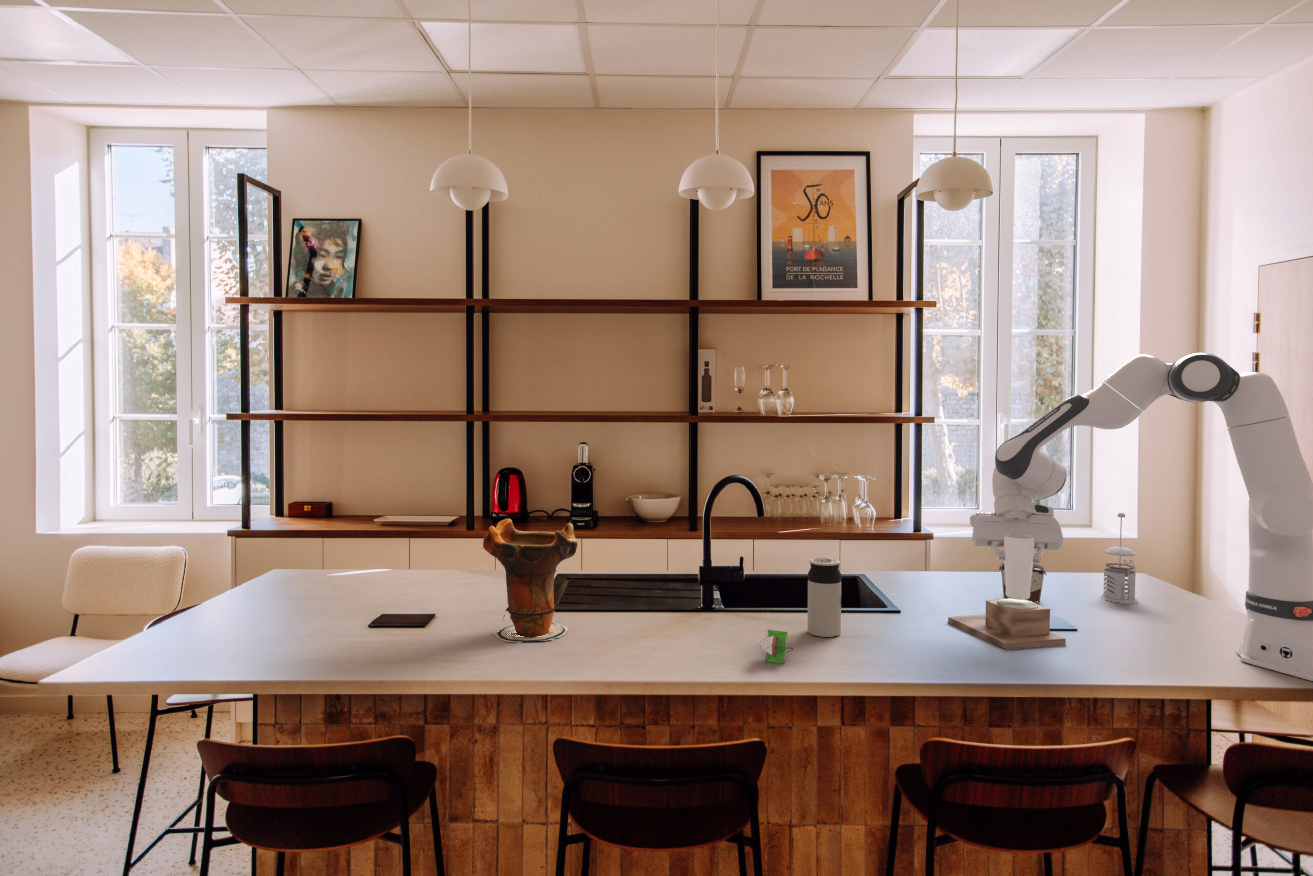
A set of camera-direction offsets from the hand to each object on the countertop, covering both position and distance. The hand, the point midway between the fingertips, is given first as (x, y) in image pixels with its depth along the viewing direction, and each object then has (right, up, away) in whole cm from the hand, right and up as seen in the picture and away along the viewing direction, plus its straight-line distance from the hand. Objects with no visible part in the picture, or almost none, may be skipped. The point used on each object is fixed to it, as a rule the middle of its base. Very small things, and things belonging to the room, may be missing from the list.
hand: (1018, 560), depth 181 cm
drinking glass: (0, -9, +1) cm, 9 cm away
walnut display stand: (-2, -18, +3) cm, 19 cm away
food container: (+19, -17, +36) cm, 44 cm away
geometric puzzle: (-61, -19, -17) cm, 67 cm away
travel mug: (-46, -19, +3) cm, 50 cm away
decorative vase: (-118, -19, +4) cm, 120 cm away
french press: (+46, -17, +34) cm, 60 cm away
